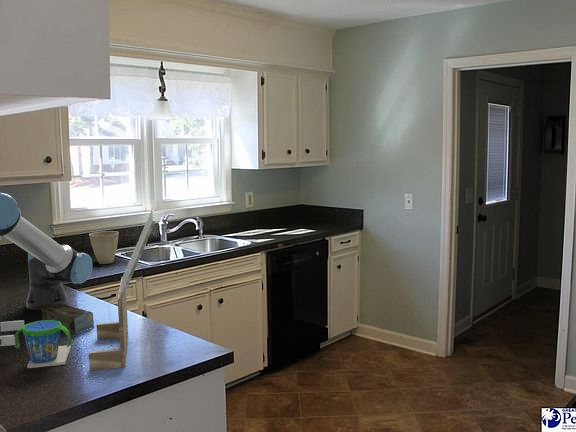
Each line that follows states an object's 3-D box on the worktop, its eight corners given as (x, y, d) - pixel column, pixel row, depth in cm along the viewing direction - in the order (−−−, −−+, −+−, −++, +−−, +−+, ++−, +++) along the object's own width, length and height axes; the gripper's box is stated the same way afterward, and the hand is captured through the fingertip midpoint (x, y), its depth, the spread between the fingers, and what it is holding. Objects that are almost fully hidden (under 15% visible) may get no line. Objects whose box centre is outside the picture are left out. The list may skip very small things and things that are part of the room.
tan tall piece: (97, 338, 184) (90, 211, 178) (159, 332, 188) (154, 209, 183) (89, 370, 158) (81, 223, 152) (161, 363, 162) (155, 220, 157)
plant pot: (115, 258, 310) (113, 230, 308) (123, 263, 298) (122, 233, 296) (87, 261, 302) (85, 232, 300) (95, 266, 290) (93, 236, 288)
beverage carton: (75, 335, 188) (73, 316, 187) (41, 325, 198) (39, 307, 197) (94, 328, 194) (93, 310, 193) (60, 319, 205) (59, 301, 204)
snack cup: (77, 352, 169) (75, 319, 168) (62, 365, 159) (60, 331, 158) (27, 351, 170) (24, 319, 169) (8, 365, 160) (6, 330, 158)
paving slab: (36, 350, 173) (36, 348, 173) (70, 347, 176) (70, 345, 175) (27, 368, 160) (27, 365, 160) (64, 364, 162) (64, 361, 162)
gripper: (-47, 337, 172) (28, 330, 177) (-77, 368, 148) (10, 360, 153) (-49, 313, 171) (26, 307, 176) (-80, 341, 147) (8, 333, 152)
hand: (19, 332), depth 164 cm, fingers open, 13 cm apart
